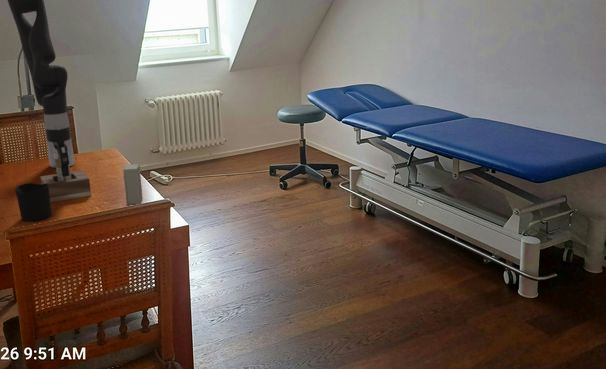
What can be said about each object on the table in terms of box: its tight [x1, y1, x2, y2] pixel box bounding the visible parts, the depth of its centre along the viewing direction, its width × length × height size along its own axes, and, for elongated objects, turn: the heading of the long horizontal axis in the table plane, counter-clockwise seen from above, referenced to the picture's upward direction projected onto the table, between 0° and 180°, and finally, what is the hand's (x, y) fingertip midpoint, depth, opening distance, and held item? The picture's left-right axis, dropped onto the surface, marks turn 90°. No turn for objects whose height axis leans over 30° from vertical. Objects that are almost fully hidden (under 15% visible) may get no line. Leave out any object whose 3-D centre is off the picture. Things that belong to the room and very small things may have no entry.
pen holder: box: [14, 182, 52, 223], centre depth 194 cm, size 9×9×10 cm
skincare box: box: [122, 163, 143, 206], centre depth 206 cm, size 6×4×12 cm
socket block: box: [39, 170, 92, 203], centre depth 216 cm, size 12×14×6 cm
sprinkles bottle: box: [54, 152, 71, 181], centre depth 215 cm, size 5×5×14 cm
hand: (63, 173), depth 215 cm, fingers open, 8 cm apart
